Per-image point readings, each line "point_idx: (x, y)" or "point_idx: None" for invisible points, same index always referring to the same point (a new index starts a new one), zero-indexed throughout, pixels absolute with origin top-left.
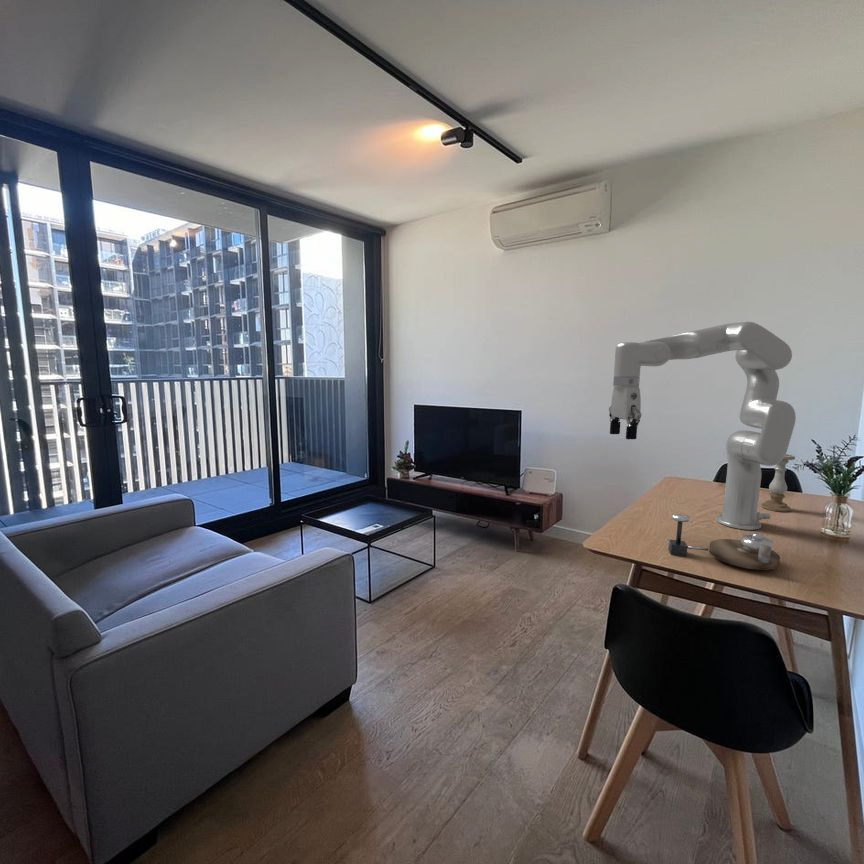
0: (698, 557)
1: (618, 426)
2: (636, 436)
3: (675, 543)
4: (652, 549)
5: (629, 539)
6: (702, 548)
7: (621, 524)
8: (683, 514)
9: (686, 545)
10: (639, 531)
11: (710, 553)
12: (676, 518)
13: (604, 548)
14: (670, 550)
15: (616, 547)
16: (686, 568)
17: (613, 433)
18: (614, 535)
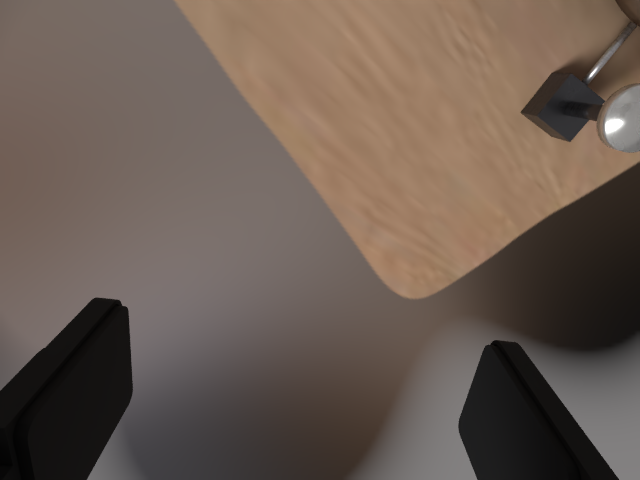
0: (605, 64)
1: (76, 398)
2: (529, 358)
3: (570, 122)
4: (500, 161)
5: (414, 177)
6: (622, 42)
7: (289, 111)
8: (635, 91)
9: (598, 97)
10: (365, 94)
11: (634, 22)
12: (638, 149)
13: (442, 283)
14: (550, 133)
15: (449, 250)
16: (631, 162)
17: (129, 377)
18: (372, 201)
